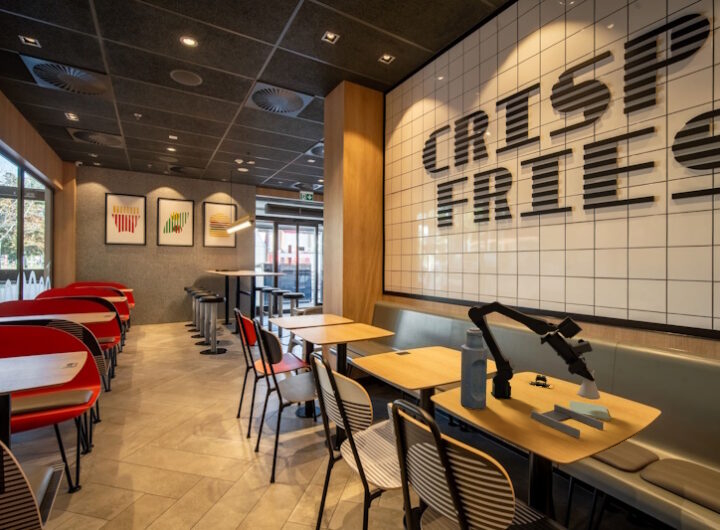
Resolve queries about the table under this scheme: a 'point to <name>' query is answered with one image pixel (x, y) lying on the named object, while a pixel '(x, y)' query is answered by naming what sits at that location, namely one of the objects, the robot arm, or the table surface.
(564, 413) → the trough
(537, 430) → the table surface
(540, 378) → the black arched bracket
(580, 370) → the robot arm
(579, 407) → the pad
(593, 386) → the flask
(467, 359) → the bottle
